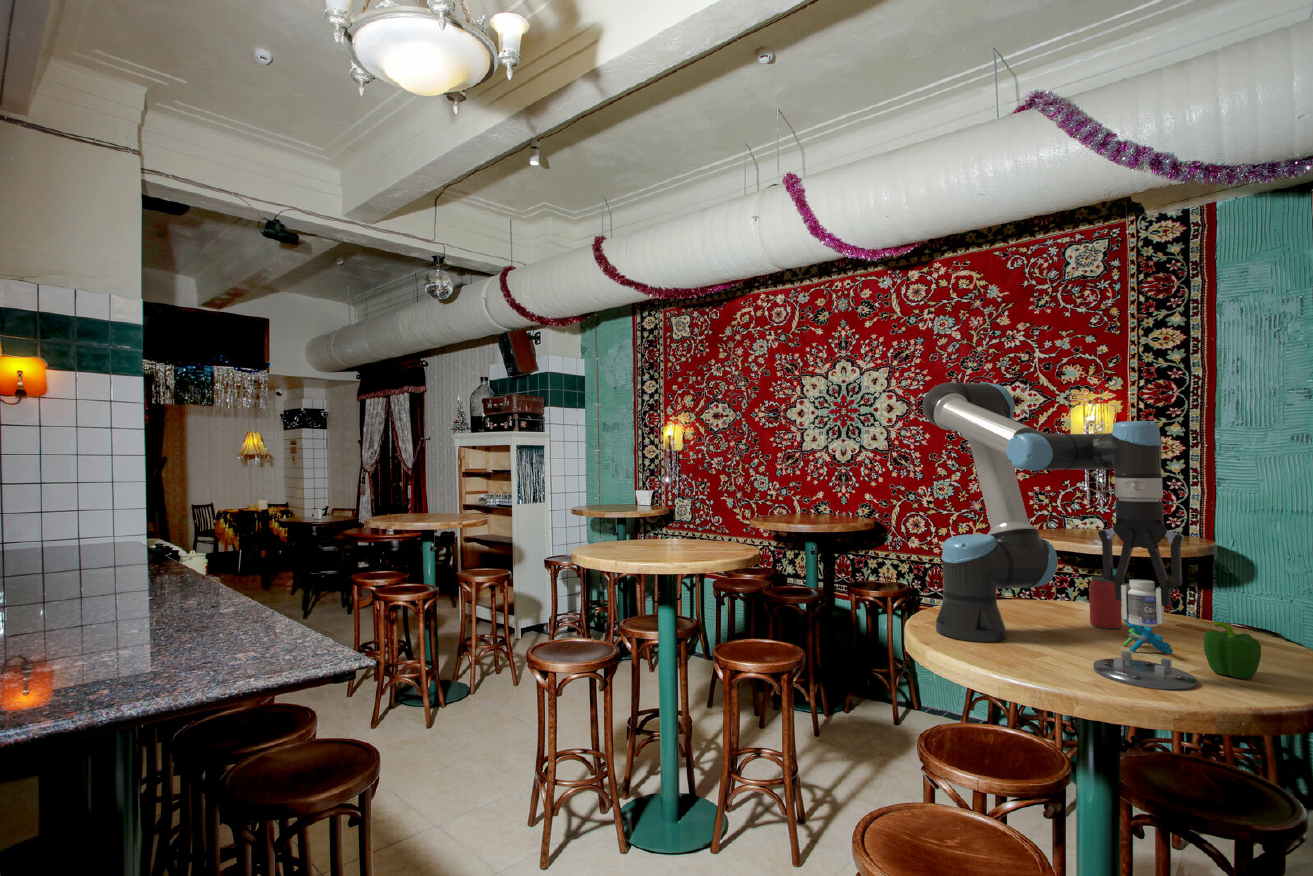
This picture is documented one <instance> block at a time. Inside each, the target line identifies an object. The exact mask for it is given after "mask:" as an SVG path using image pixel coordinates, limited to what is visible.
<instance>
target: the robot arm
mask: <svg viewBox="0 0 1313 876" xmlns="http://www.w3.org/2000/svg"><path fill="white" fill-rule="evenodd" d="M1015 408H1016V407H1015V401H1014V397H1013V396H1012V394H1011V392H1010V391H1009V390H1008V389H1007V388H1006V387H1005V386H1004V385H1001V384H997V383H990V382H979V383H978V382H952V381H951V382H950V381H949V382H944V383H943V382H942V383H940V384H938V385H935V386H933V387H932V388H931V389H930V390H929V391H928V392H927V393H926V394H925V396H924V399H923V401H922V412H923V414H924V417H925V418H926V419H927V421H928V422H930V423H931V424H932V425H933V426H936V427H937V428H939V429H942V430H945V431H952V430H954V431H955V432H957V433H958V434H959V433H960V434H961V437H962V438H963V439H965V440H967V441H968V442H969V445H970V449H971V453H972V457H973V462H974V465H975V470H976V474H977V477H978V478H977V479H978V483H979V486H980V490H981V493H982V497H983V503H984V505H985V510H986V514H987V518H988V522H989V526H990V530H989V531H988V533H987V534H985V533H975V534H974V533H973V534H969V533H968V534H962V535H961V534H960V535H955V536H950V537H949V538H947V539H946V540H944V542H942V543H943V544H942V554H941V561H942V593H943V595H942V602H941V605H940V609H939V611H938V614H937V617H936V620H935V630H936V632H937V633H938V632H939V633H938V634H940V633H941V634H940V635H942V634H943V635H942V636H944V635H945V637H947V636H950V637H949V638H951V637H952V639H955V638H956V639H955V640H961V641H969V642H979V643H990V642H991V643H992V642H999V641H1003V640H1005V639H1006V637H1007V635H1006V632H1007V631H1006V629H1007V628H1006V625H1005V623H1004V620H1003V618H1002V615H1001V611H1000V609H999V606H998V603H997V597H998V596H997V589H999V590H1001V589H1021V588H1024V589H1031V588H1035V587H1036V588H1037V587H1042V586H1045V585H1047V584H1048V583H1050V582H1051V581H1052V580H1053V578H1054V575H1055V574H1057V573H1056V572H1057V569H1058V556H1057V552H1056V550H1055V548H1054V546H1053V544H1051V543H1050V542H1049V541H1048V540H1046V539H1044V538H1041V536H1040V534H1039V529H1038V528H1037V527H1035V526H1034V525H1032V524H1031V523H1030V522H1029V519H1028V515H1027V512H1026V508H1025V505H1024V501H1023V497H1022V493H1021V489H1020V485H1019V482H1018V478H1017V475H1016V471H1015V469H1019V470H1027V471H1032V472H1033V471H1035V472H1037V471H1053V470H1054V471H1055V470H1056V471H1057V470H1059V471H1061V470H1062V471H1063V470H1070V471H1071V470H1080V471H1090V470H1113V471H1114V472H1113V473H1114V496H1115V497H1116V498H1117V499H1118V500H1116V502H1115V523H1114V525H1113V526H1112V527H1111V528H1108V529H1101V530H1098V537H1099V538H1100V541H1101V551H1102V552H1101V553H1102V577H1103V578H1104V579H1105V580H1109V581H1111V582H1113V583H1114V584H1115V598H1116V600H1120V601H1121V617H1122V619H1123V620H1124V619H1128V600H1127V591H1128V590H1129V589H1130V587H1129V583H1124V582H1125V581H1126V576H1127V575H1126V574H1127V572H1128V567H1129V564H1130V560H1131V556H1132V553H1133V550H1134V548H1136V549H1137V548H1142V549H1146V550H1147V553H1148V554H1149V557H1150V560H1151V563H1152V566H1153V569H1154V572H1155V575H1156V578H1157V580H1158V583H1159V586H1158V587H1155V592H1156V612H1157V624H1158V625H1159V624H1160V625H1163V624H1164V623H1165V607H1169V606H1170V605H1171V604H1172V603H1171V589H1172V588H1173V589H1174V588H1178V587H1180V586H1182V584H1183V570H1182V569H1183V568H1182V567H1183V566H1182V544H1183V542H1184V540H1185V535H1184V534H1182V533H1175V532H1173V531H1171V530H1170V531H1169V530H1168V528H1167V526H1166V525H1165V520H1164V503H1162V501H1160V500H1161V499H1163V498H1164V495H1163V493H1164V492H1163V490H1164V489H1163V478H1162V441H1161V432H1160V426H1159V424H1158V423H1157V422H1155V421H1152V420H1129V421H1117V422H1115V423H1114V424H1113V425H1112V431H1111V432H1109V433H1046V432H1043V431H1040V430H1037V429H1035V428H1032V427H1031V426H1028V425H1026V424H1023V423H1021V422H1018V421H1016V420H1013V418H1014V415H1015V414H1014V412H1015V410H1016V409H1015ZM1115 534H1116V535H1117V536H1118V537H1117V538H1119V539H1120V540H1121V542H1122V543H1123V544H1122V547H1121V553H1120V557H1119V561H1118V564H1117V568H1116V572H1115V574H1114V561H1113V560H1114V558H1113V557H1114V556H1113V541H1112V540H1113V539H1114V538H1115ZM1164 537H1166V538H1167V542H1168V544H1171V545H1170V563H1171V564H1170V567H1171V569H1170V570H1171V580H1170V579H1169V577H1168V573H1167V571H1166V567H1165V565H1164V562H1163V558H1162V556H1161V552H1160V548H1159V545H1158V544H1159V543H1160V542H1161V541H1162V540H1163V539H1164Z"/></svg>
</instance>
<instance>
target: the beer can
mask: <svg viewBox="0 0 1313 876" xmlns="http://www.w3.org/2000/svg"><path fill="white" fill-rule="evenodd" d="M1090 579H1091V580H1090V582H1089V586H1088V591H1089V593H1088V596H1089V624H1091V626H1092V627H1096V628H1100V629H1104V630H1119V629H1121V628H1122V627H1123V626H1122V623H1123V622H1122V601H1120V600H1116V598H1115V584H1114V583H1113V582H1111V581H1109V580H1105V579H1104V578H1103V576H1101V575H1100V576H1099V575H1098V576H1092V577H1090Z"/></svg>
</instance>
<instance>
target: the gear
mask: <svg viewBox="0 0 1313 876" xmlns="http://www.w3.org/2000/svg"><path fill="white" fill-rule="evenodd" d="M1123 621H1124V622H1125V624H1126V626H1127V627H1128V628H1129V630H1128V633H1129V634H1128V638H1127V639H1126V640H1125V641H1124V642H1123V643H1122V645H1123V646H1124V647H1127V646H1128V645H1129V644H1130V643H1132V641H1134V642H1135V643H1133V645H1132V646H1130V647H1129V652H1131V653H1135V652H1136V651H1137V650H1138V649H1139V648H1140V647H1141V646H1142V645H1144V644H1145V645H1146V644H1148V645H1152V647H1153V648H1155V650H1158V651H1162V652H1163V653H1164V654H1166V655H1167V654H1170V655H1171V654H1172V653H1174V650H1173V649H1172V646H1171V645H1170V643H1169V642H1166V641H1163V640H1164V638H1163V637H1162V636H1161V634H1159V633H1157V634H1155V633H1154V632H1153V629H1152V627H1146V626H1139V625H1134V624H1131V623H1129V622H1128V619H1123Z"/></svg>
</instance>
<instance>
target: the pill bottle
mask: <svg viewBox="0 0 1313 876" xmlns="http://www.w3.org/2000/svg"><path fill="white" fill-rule="evenodd" d="M1128 581H1129V582H1128V584H1129V590H1128V591H1127V600H1128V622H1129V623H1131V624H1134V625H1139V626H1146V627H1150V628H1153V627H1154V628H1155V627H1158V626H1159V624H1157V612H1156V585H1155V583H1156V582H1155V581H1153V580H1151V579H1150V580H1148V579H1140V578H1139V579H1138V578H1133V579H1129V580H1128Z"/></svg>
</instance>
